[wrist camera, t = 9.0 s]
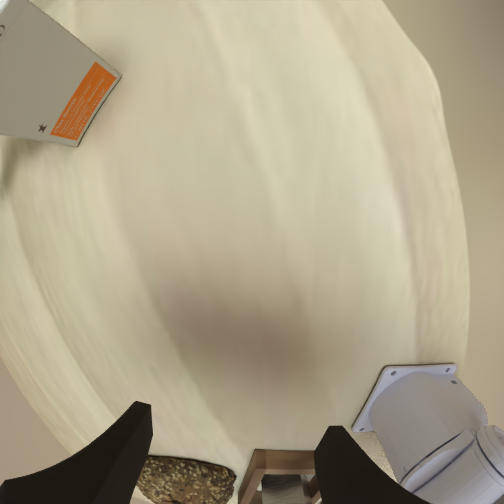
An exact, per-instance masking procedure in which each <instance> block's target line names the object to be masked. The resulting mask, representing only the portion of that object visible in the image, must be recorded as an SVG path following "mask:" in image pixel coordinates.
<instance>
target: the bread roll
mask: <svg viewBox="0 0 504 504" xmlns="http://www.w3.org/2000/svg"><path fill="white" fill-rule="evenodd" d="M236 477H237V476H236V475H234V473H233V472H232V471H231V470H229V469H228V468H225V467H221V466H217V465H213V464H208V463H202V462H197V461H191V460H183V459H176V458H170V457H152V456H147V458H146V460H145V463H144V466H143V468H142V471H141V473H140V476H139V478H138V481H137V483H136V486H137V487H138V488H139V490H140V491H141V492H142V493H143V495H144V496H146V497H147V498H148V499H150V500H151V501H152V502H153V503H155V504H227V502H228V501H229V499H231V497H232V494H233V491H234V487H233V484H234V482H235V480H236Z"/></svg>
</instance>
